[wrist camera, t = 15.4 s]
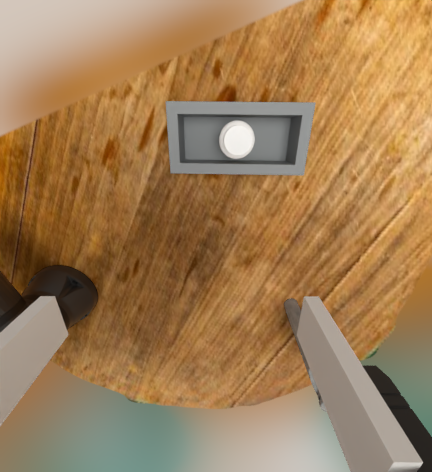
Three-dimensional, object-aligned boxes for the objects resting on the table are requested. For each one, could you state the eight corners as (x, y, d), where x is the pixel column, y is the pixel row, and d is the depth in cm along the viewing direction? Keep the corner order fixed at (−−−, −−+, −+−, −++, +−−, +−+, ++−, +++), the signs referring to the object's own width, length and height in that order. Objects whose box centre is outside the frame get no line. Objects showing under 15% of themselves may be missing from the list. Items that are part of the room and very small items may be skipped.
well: (178, 167, 44) (170, 173, 37) (174, 106, 40) (165, 101, 33) (291, 169, 43) (303, 175, 37) (300, 107, 39) (315, 102, 33)
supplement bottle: (242, 160, 42) (247, 167, 33) (214, 148, 41) (212, 152, 32) (254, 129, 40) (264, 128, 31) (226, 117, 39) (227, 112, 30)
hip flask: (316, 339, 61) (356, 426, 43) (301, 344, 62) (334, 432, 44) (294, 296, 55) (330, 376, 37) (278, 302, 56) (306, 383, 38)
